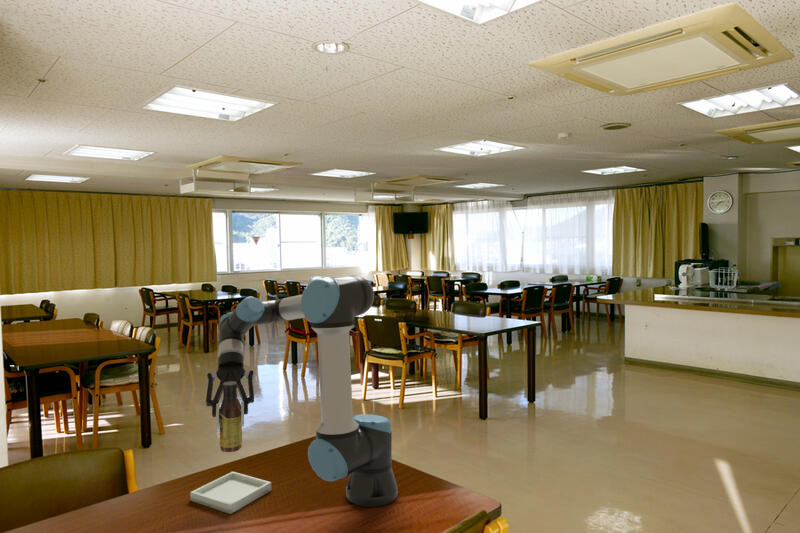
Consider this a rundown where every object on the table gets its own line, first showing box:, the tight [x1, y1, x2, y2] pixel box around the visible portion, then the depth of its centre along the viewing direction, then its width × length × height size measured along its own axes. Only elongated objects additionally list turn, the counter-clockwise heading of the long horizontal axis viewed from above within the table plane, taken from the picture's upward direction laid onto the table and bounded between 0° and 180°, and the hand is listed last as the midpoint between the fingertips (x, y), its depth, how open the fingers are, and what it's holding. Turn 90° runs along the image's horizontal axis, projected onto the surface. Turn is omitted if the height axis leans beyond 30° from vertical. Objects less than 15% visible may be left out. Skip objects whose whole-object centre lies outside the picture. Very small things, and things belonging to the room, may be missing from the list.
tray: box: [190, 471, 272, 515], centre depth 156 cm, size 16×16×2 cm
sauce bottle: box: [218, 381, 243, 453], centre depth 155 cm, size 6×6×20 cm
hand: (230, 425), depth 151 cm, fingers closed on sauce bottle, 6 cm apart
